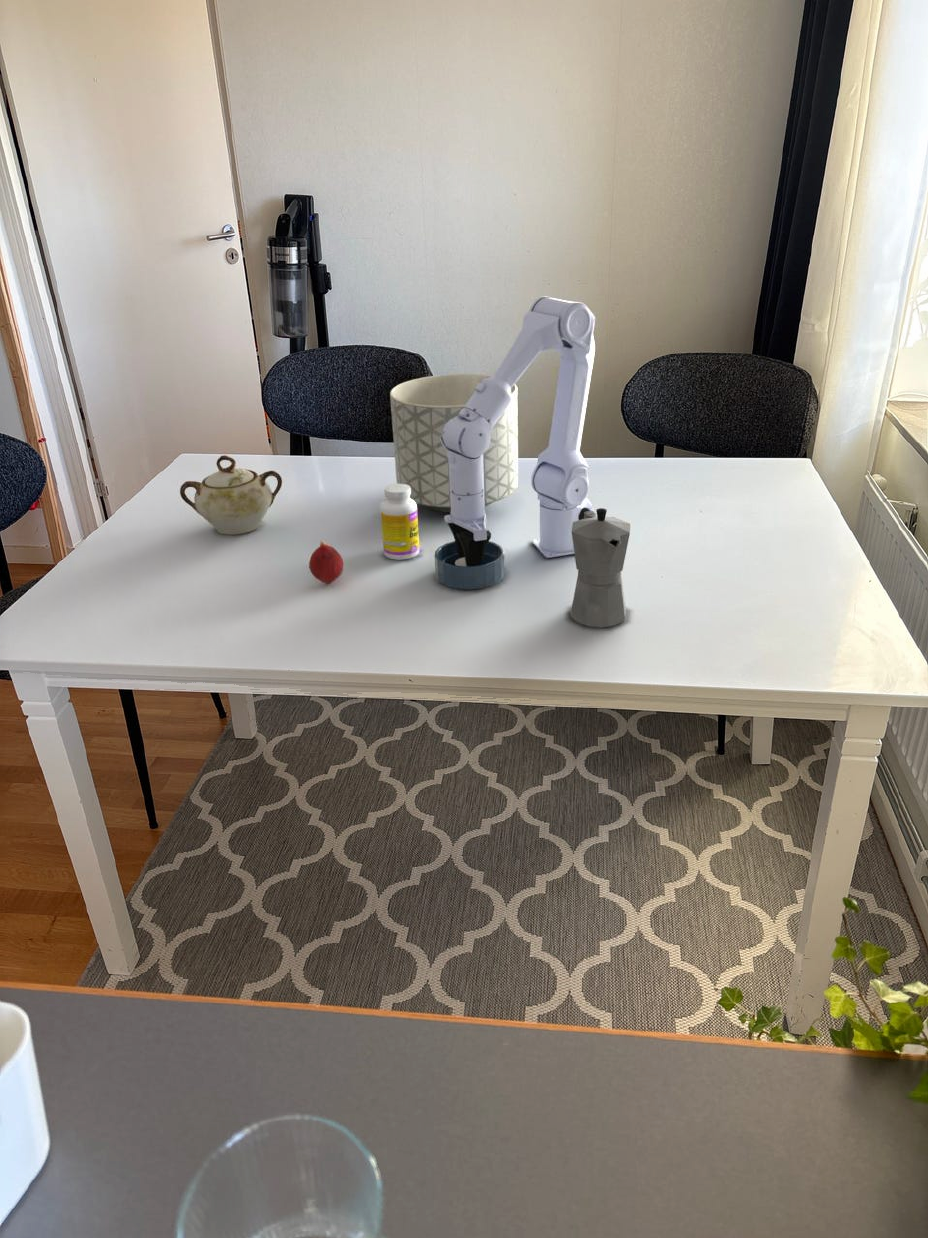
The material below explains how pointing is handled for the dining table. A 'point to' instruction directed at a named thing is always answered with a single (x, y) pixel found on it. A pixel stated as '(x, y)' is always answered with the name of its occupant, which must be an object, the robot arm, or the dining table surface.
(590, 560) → the coffeepot
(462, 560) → the beige pebble
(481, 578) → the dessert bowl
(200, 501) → the sugar bowl
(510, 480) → the planter
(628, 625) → the dining table surface
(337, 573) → the onion
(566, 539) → the robot arm
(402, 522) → the supplement bottle
